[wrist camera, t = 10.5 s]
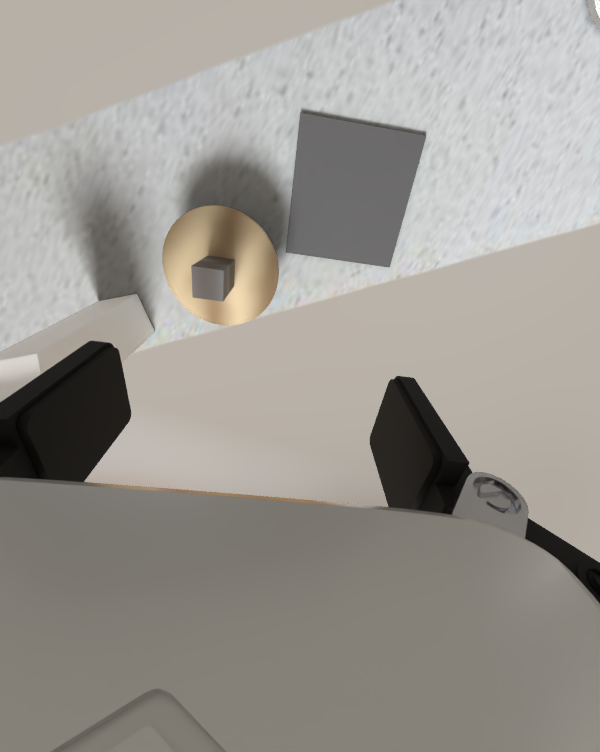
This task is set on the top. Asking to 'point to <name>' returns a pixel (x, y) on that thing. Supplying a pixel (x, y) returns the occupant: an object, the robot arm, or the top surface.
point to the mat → (350, 189)
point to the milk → (75, 339)
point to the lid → (220, 265)
